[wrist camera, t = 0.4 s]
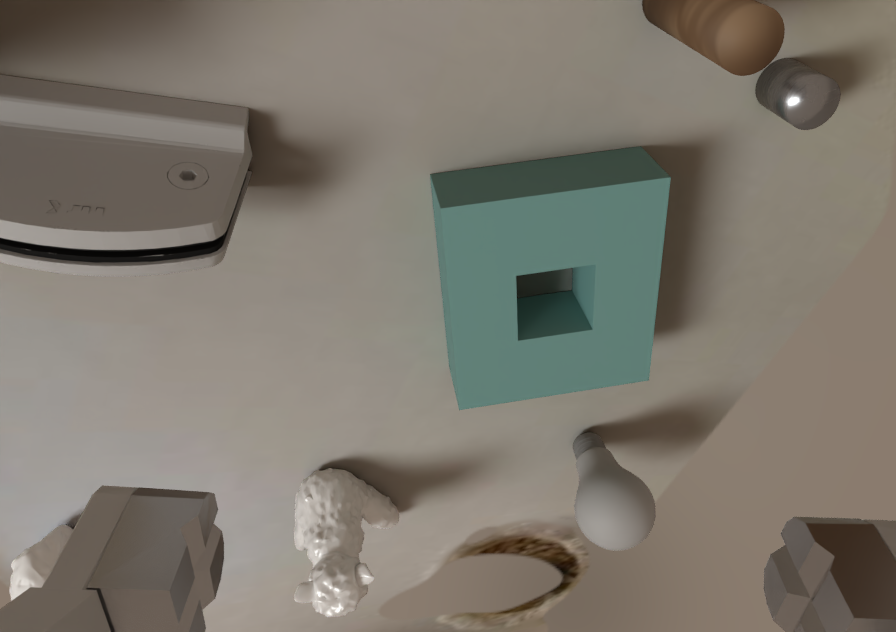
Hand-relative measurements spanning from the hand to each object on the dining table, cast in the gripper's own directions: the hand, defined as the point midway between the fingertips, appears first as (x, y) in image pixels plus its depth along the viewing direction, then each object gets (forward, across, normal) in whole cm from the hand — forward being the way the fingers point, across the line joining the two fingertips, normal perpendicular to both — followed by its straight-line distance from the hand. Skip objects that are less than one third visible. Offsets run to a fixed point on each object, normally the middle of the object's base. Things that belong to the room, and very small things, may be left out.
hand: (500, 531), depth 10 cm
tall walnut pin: (+39, -12, -1) cm, 40 cm away
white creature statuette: (+36, +9, +39) cm, 54 cm away
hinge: (+34, +21, +9) cm, 41 cm away
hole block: (+38, -6, +17) cm, 42 cm away
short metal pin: (+40, -21, +4) cm, 45 cm away
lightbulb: (+39, -13, +34) cm, 54 cm away
